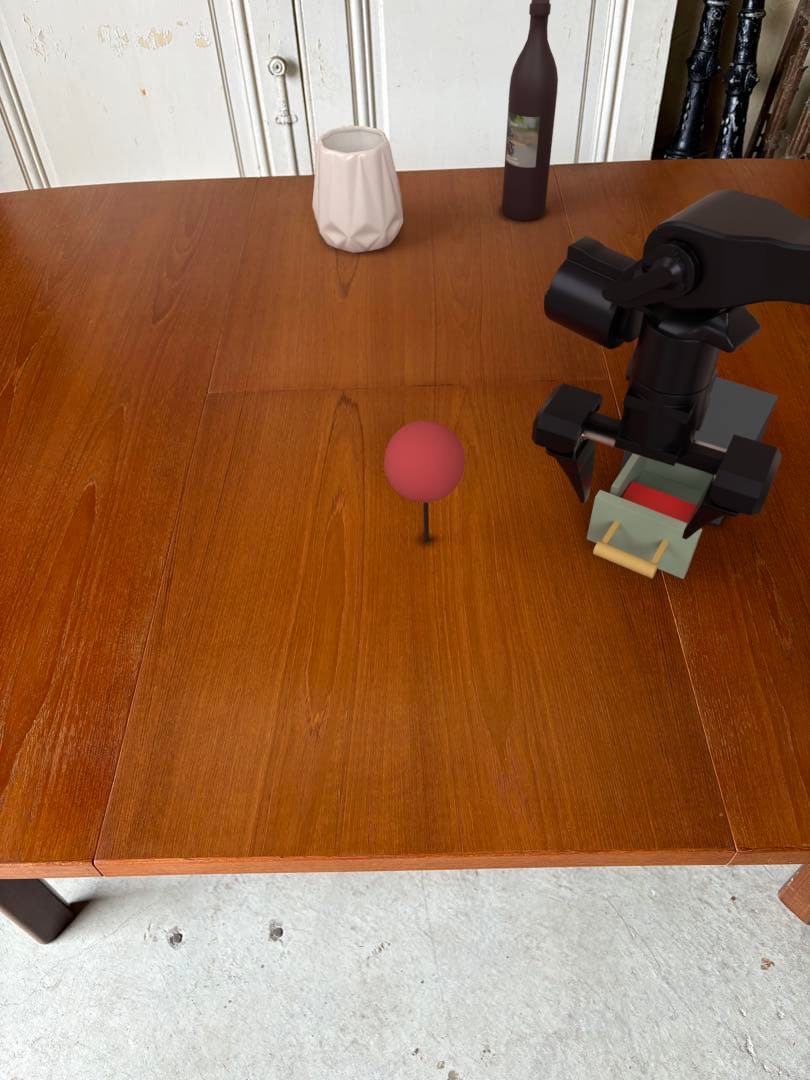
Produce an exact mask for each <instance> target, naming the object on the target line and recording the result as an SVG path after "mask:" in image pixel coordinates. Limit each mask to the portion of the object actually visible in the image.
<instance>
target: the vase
mask: <svg viewBox="0 0 810 1080" xmlns="http://www.w3.org/2000/svg"><path fill="white" fill-rule="evenodd" d="M315 145H316V146H315V160H314V161H315V162H314V181H313V193H312V203H311V204H312V205H311V206H312V211H313V215H314V219H315V221H316V224H317V228H318V233H319V234H320V235H321V238H322V239H323V241H324V242H325V243H326V244H327V245H328V246H330V247H332V248H334V249H337V250H341V251H345V252H347V253H352V254H357V253H364V252H370V251H371V252H373V251H375V250H380V249H383V248H386V247H388V246H389V245H390V244H392V242H393V241H394V240H395V239H396V237H397V236H398V235H399V232H400V231H401V229H402V226H403V223H404V209H403V195H402V190H401V185H400V182H399V178H398V174H397V170H396V166H395V161H394V158H393V153H392V148H391V144H390V141H389V139H388V138H387V135H386V133H385V132H384V131H383V130H381V129H380V128H379V129H378V128H376V127H370V126H368V125H348V126H340V127H335V128H332V129H329V130H328V131H326V132H325V133H323V134H322V135H321V136H320V137H319V138H318V139H317V142H316V144H315Z"/></svg>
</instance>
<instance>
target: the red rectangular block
mask: <svg viewBox="0 0 810 1080" xmlns="http://www.w3.org/2000/svg"><path fill="white" fill-rule="evenodd" d="M622 498H623V499H625V500H628V501H631V502H633V503H636V504H638V505H641V506H644V507H646V508H649V509H651V510H654V511H657V512H659V513H662V514H664V515H667V516H669V517H672V518H675V519H677V520H680V521H682V522H685V523H688V521H689V518H690V516H691V514H692V513H693V511H694V509H695V507H696V505H694V504H691V503H689V502H686V501H683V500H681V499H678V498H676V497H673V496H670V495H668V494H665V493H662V492H660V491H657V490H654V489H652V488H649V487H646V486H644V485H641V484H638V483H636V482H633V481H632V482H631V484H630V485H629V487H628V488H627V490H626V492H625V493H624V495H623V496H622Z"/></svg>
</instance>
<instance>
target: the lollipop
mask: <svg viewBox="0 0 810 1080" xmlns="http://www.w3.org/2000/svg"><path fill="white" fill-rule="evenodd" d="M383 458H384V460H383V466H384V467H383V468H384V472H385V476H386V479H387V481H388V482H389V484H390V486H391V487H392V489H394V491H396V492H397V494H399V495H400V496H402V497H403V498H404V499H407V500H409V501H412V502H416V503H422V509H423V511H422V513H423V533H424V535H423V542H426V543H428V542H430V541H431V538H430V520H429V519H430V517H429V513H430V512H429V503H433V502H438V501H441V500H442V499H445V498H447V496H449V495H451V493H453V492H454V490H455V489H456V488H457V487H458V485H459V483H460V482H461V480H462V478H463V474H464V471H465V467H466V455H465V450H464V446H463V444H462V442H461V440H460V438H459V437H458V435H457V434H456V433H455V432H454V431H453V430H452V429H450V428H449V427H447V426H446V425H444V424H442V423H440V422H437V421H433V420H417V421H413V422H409V423H407V424H406V425H404V426H402V427H401V428H399V429H398V430H397V431H396V432H395V433H394V434H393V435H392V437H391V438H390V440H389V442H388V444H387V446H386V449H385V453H384V457H383Z"/></svg>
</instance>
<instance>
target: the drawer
mask: <svg viewBox="0 0 810 1080" xmlns="http://www.w3.org/2000/svg"><path fill="white" fill-rule="evenodd" d="M712 476H713V475H712V474H709V473H706V472H703V471H700V470H697V469H694V468H690V467H687V466H684V465H681V464H678V463H676V464H675V466H671V465H668V464H665V463H662V462H659V461H655V460H652V459H649V458H645V457H642V456H639V455H636V454H632V455H631V457H630V458H629V460H628V461H627V463H626V465H625V466H624V468H623V469H622V471H621V472H620V471H619V474H618V475H617V477H616V478H615V480H614V481H613V483H612V484H611V487H610V491H609V492H607V491H604V490H602V489H599V490H598V492H597V494H596V495H595V497H594V500H593V506H592V511H591V515H590V519H589V525H588V530H587V534H586V540H588V541H591V542H592V543H595V546H594V548H593V551H592V554H593V556H597V557H599V558H602V559H604V560H607V561H609V562H611V563H614V564H616V565H618V566H621V567H623V568H625V569H628V570H630V571H633V572H635V573H638V574H640V575H642V576H644V577H647V578H649V579H653V578H654V577H655V575H656V573H657V570H660V571H662V572H665V573H667V574H670V575H671V576H674V577H677V578H679V579H682V580H684V579H685V577H686V575H687V573H688V570H689V568H690V565H691V562H692V560H693V557H694V554H695V551H696V549H697V547H698V543H699V540H700V538H701V535H702V532H703V528H700V529H699V530H698V531H697V532H695V533H694V534H693V535H692V536H690V537H689V538H688V539H683V538H682V536H683V532H684V529H685V527H686V525H687V523H685V522H682V521H680V520H677V519H675V518H672V517H669V516H667V515H664V514H662V513H659V512H657V511H654V510H651V509H649V508H646V507H644V506H641V505H638V504H636V503H633V502H631V501H628V500H625V499H623V498H622V496H623V495H624V493H625V492H626V490H627V488H628V487H629V485H630V484H631V482H632V481H633V482H636V483H638V484H641V485H644V486H646V487H649V488H652V489H654V490H657V491H660V492H662V493H665V494H668V495H670V496H673V497H676V498H678V499H681V500H683V501H686V502H689V503H691V504H694V505H697V504H698V502H699V500H700V498H701V496H702V495H703V493H704V491H705V489H706V487H707V486H708V484H709V482H710V480H711V478H712Z"/></svg>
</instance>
